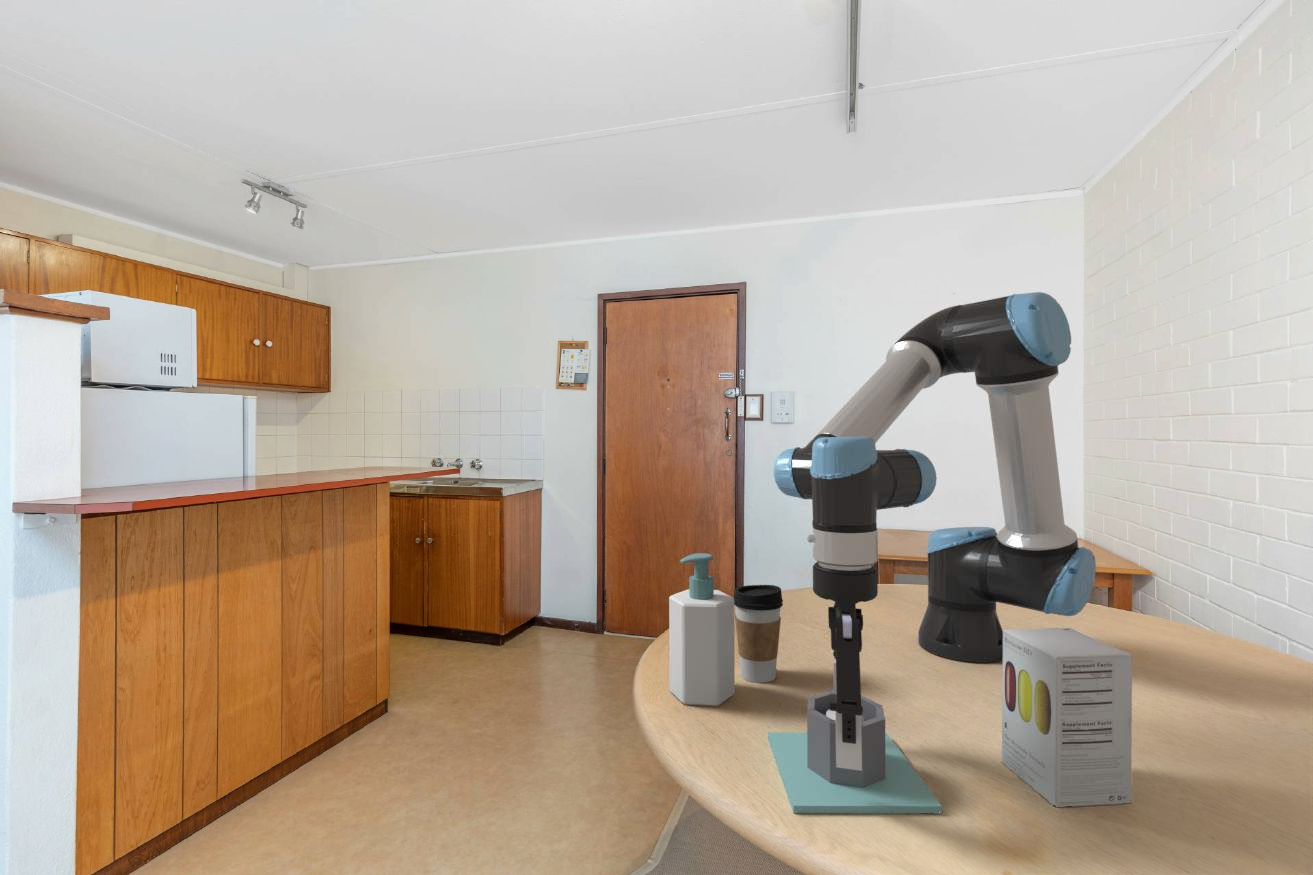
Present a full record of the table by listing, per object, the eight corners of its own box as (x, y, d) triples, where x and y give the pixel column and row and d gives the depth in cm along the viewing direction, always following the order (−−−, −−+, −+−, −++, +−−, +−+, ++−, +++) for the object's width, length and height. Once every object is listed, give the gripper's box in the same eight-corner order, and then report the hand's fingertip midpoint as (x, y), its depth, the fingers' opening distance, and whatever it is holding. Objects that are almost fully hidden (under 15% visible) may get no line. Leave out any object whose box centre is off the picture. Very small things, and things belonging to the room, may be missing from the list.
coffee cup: (783, 687, 96) (783, 595, 96) (731, 683, 98) (730, 593, 98) (783, 668, 105) (782, 583, 105) (734, 664, 106) (734, 580, 106)
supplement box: (999, 761, 74) (998, 627, 74) (1068, 758, 75) (1067, 625, 75) (1057, 809, 65) (1056, 655, 65) (1135, 805, 66) (1135, 652, 66)
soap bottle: (662, 685, 97) (662, 551, 97) (711, 676, 101) (711, 547, 101) (690, 712, 88) (690, 563, 88) (743, 701, 92) (743, 558, 92)
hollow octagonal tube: (808, 741, 78) (808, 688, 78) (880, 751, 75) (880, 696, 75) (806, 779, 69) (806, 719, 69) (887, 791, 67) (887, 729, 67)
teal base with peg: (886, 738, 80) (886, 687, 80) (941, 813, 64) (941, 750, 64) (767, 738, 80) (767, 687, 80) (793, 812, 64) (793, 750, 64)
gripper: (814, 543, 85) (816, 690, 86) (810, 587, 61) (813, 792, 62) (869, 545, 83) (871, 695, 84) (888, 592, 59) (890, 803, 60)
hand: (846, 736), depth 73 cm, fingers open, 13 cm apart
